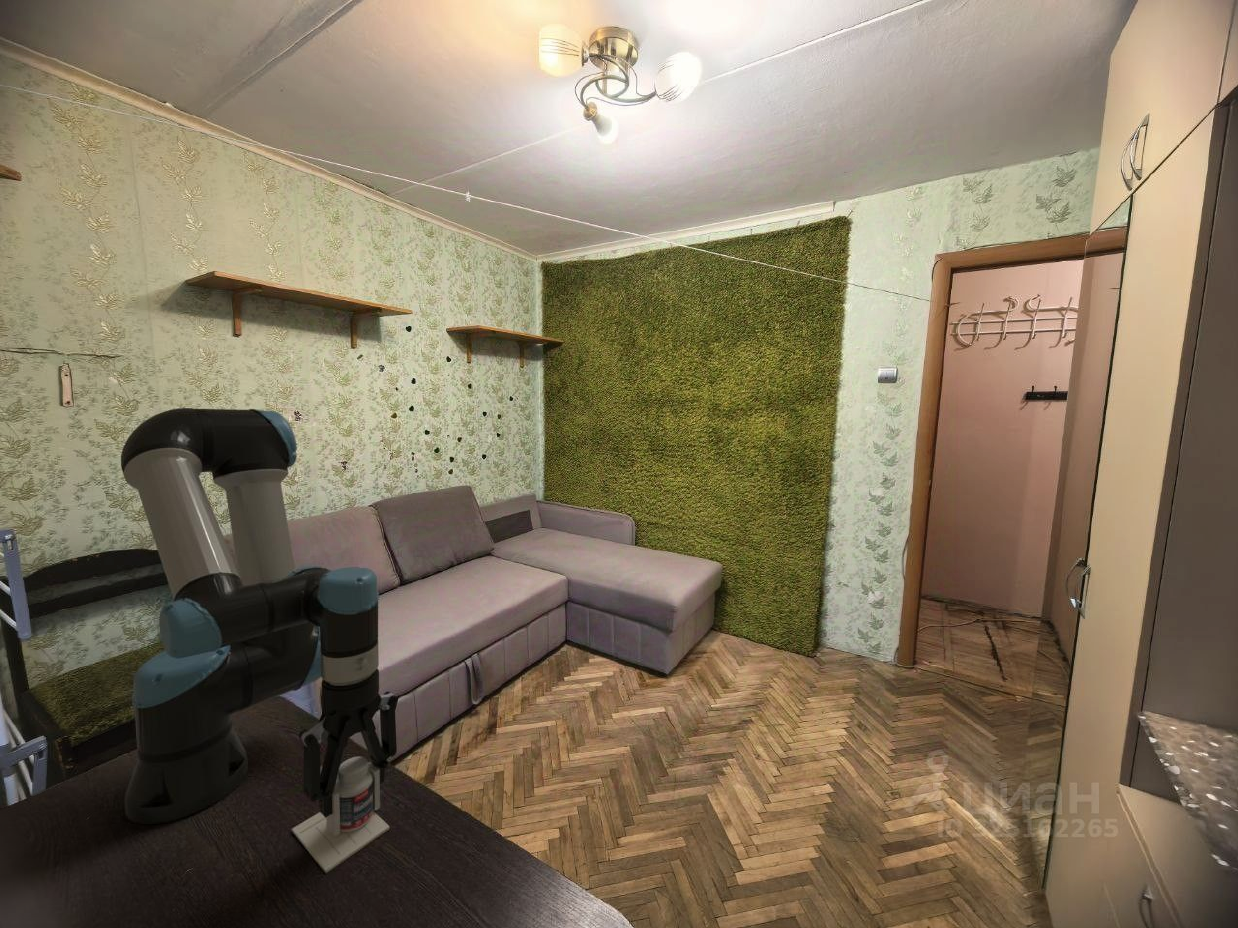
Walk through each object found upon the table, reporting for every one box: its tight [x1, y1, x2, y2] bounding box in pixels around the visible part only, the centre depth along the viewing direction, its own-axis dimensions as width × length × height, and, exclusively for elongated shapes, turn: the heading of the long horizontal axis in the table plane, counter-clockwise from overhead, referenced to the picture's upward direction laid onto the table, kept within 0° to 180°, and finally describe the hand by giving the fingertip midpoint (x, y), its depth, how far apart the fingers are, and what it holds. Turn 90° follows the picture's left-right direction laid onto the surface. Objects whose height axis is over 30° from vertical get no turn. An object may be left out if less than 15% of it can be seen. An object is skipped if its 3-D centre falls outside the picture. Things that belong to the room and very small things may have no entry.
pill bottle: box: [335, 756, 374, 833], centre depth 74 cm, size 5×5×9 cm
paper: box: [291, 810, 390, 874], centre depth 73 cm, size 11×9×1 cm
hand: (353, 816), depth 74 cm, fingers closed on pill bottle, 5 cm apart
